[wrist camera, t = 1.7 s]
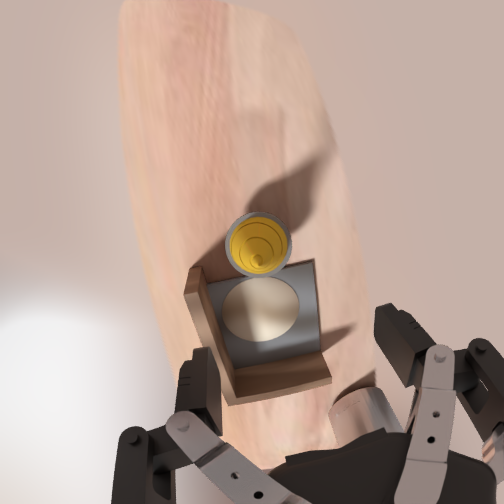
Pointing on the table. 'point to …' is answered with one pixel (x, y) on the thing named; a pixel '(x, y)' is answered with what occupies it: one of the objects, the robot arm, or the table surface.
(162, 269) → the table surface
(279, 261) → the drill bit
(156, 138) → the table surface
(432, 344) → the robot arm
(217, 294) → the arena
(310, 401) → the table surface
